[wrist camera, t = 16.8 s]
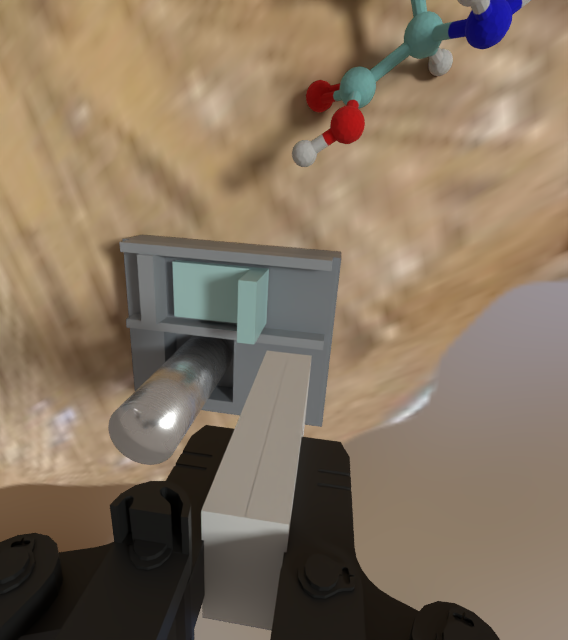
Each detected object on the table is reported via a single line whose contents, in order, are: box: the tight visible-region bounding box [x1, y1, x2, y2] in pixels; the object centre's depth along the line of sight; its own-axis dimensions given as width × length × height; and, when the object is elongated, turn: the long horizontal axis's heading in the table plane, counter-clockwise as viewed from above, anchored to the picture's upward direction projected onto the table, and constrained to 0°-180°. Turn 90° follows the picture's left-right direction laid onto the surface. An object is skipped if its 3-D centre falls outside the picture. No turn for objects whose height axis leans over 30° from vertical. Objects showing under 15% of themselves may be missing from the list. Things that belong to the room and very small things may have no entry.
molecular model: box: [292, 0, 531, 167], centre depth 18 cm, size 12×10×10 cm
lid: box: [172, 260, 269, 344], centre depth 22 cm, size 6×4×4 cm, turn 86°
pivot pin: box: [109, 335, 232, 465], centre depth 24 cm, size 4×4×10 cm
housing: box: [120, 235, 341, 427], centre depth 26 cm, size 14×12×4 cm
